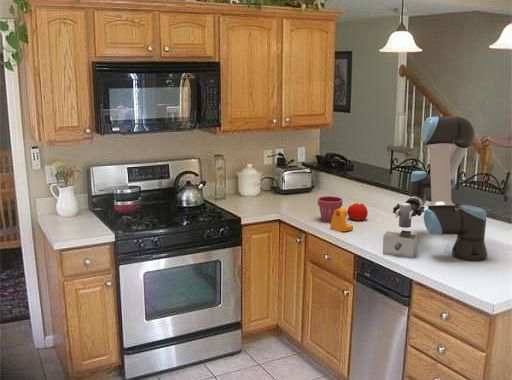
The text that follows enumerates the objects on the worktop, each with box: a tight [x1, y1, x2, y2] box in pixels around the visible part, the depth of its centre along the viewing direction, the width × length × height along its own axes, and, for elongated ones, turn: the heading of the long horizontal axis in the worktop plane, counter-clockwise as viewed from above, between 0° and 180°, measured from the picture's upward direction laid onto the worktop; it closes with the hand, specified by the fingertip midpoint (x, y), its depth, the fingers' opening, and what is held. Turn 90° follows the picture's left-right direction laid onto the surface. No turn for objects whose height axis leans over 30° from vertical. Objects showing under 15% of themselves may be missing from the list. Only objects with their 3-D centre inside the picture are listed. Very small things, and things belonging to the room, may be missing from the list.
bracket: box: [329, 207, 354, 232], centre depth 288 cm, size 11×7×12 cm, turn 36°
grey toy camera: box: [382, 229, 418, 259], centre depth 251 cm, size 14×20×11 cm
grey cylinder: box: [398, 202, 412, 229], centre depth 253 cm, size 6×6×11 cm
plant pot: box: [317, 195, 343, 223], centre depth 306 cm, size 14×14×13 cm
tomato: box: [347, 202, 369, 222], centre depth 308 cm, size 11×12×9 cm
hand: (403, 215), depth 248 cm, fingers closed on grey cylinder, 6 cm apart
